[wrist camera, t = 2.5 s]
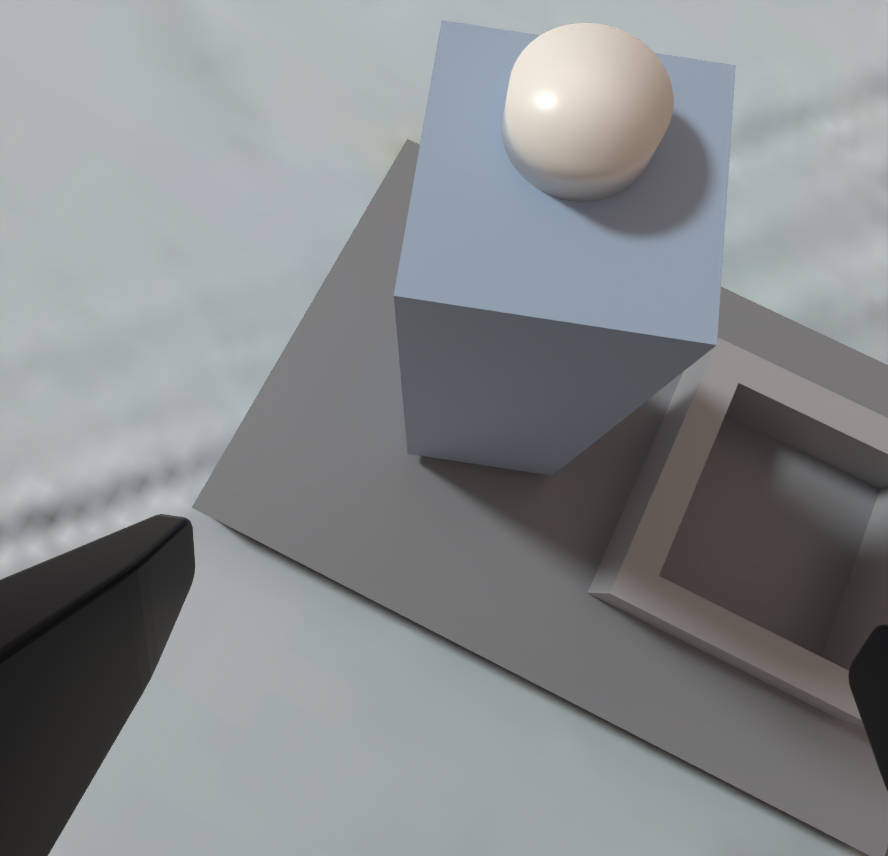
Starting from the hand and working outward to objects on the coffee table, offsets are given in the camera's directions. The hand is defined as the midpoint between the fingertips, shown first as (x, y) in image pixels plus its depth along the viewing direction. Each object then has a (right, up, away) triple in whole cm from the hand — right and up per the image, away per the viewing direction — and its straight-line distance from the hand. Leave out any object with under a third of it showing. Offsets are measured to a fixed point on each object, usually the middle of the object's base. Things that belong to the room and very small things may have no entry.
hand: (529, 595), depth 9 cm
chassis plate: (+4, +1, +14) cm, 14 cm away
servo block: (0, +3, +12) cm, 13 cm away
